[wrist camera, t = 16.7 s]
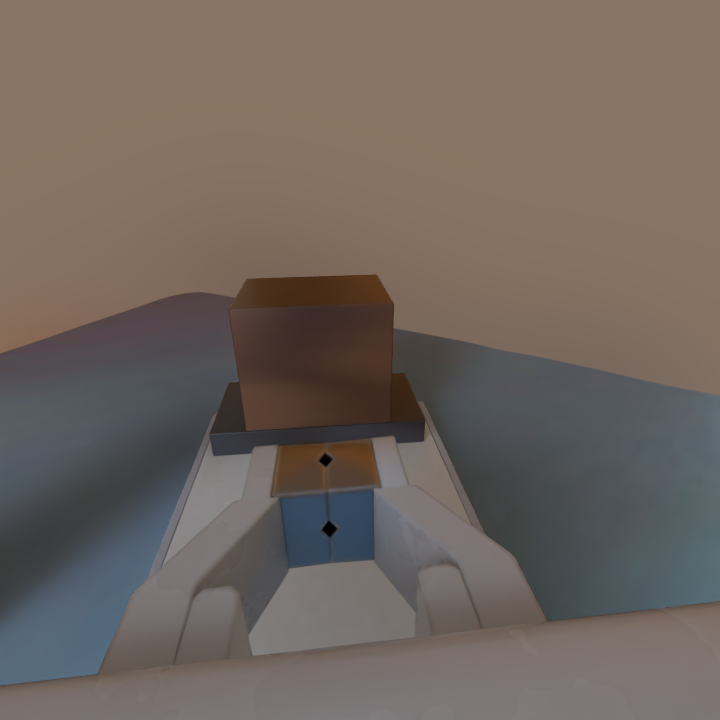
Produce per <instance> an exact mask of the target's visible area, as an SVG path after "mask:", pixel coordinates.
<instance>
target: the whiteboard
mask: <svg viewBox="0 0 720 720" xmlns="http://www.w3.org/2000/svg"><path fill="white" fill-rule="evenodd" d="M417 403H418V405H419V407H420V410H421V412H422V414H423V416H424V419H425V434H424V441H423V442H411V443H397V446H398V449H399V452H400V455H401V459H402V462H403V465H404V468H405V472H406V475H407V478H408V482H409V485H410V486H411V485H417V486H419V487H420V488H421V489H423V490H424V491H426V492H427V493H428V494H430V495H431V496H432V497H434V498H435V499H437V500H438V501H439V502H441V503H442V504H444V505H445V506H446V507H448V508H449V509H450V510H452V511H453V512H455V513H456V514H457V515H459V516H460V517H461V518H463V519H464V520H466V521H467V522H468V523H470V524H471V525H473V526H474V527H475V528H477V529H478V530H479V531H481V532H482V533H484V531H483V529H482V527H481V524H480V522H479V520H478V518H477V516H476V514H475V512H474V509H473V507H472V505H471V503H470V501H469V499H468V497H467V494H466V492H465V490H464V488H463V486H462V484H461V482H460V479H459V477H458V475H457V473H456V471H455V469H454V467H453V464H452V462H451V460H450V458H449V456H448V454H447V452H446V450H445V447H444V445H443V443H442V441H441V439H440V437H439V435H438V432H437V430H436V428H435V426H434V424H433V422H432V420H431V417H430V415H429V413H428V411H427V409H426V407H425V405H424V402H423V401H421V402H417ZM216 415H217V414H213V417H212V419H211V422H210V424H209V427H208V429H207V432H206V434H205V436H204V439H203V441H202V444H201V446H200V449H199V451H198V454H197V456H196V459H195V461H194V464H193V466H192V469H191V471H190V474H189V476H188V478H187V481H186V483H185V486H184V488H183V491H182V493H181V496H180V498H179V501H178V503H177V506H176V508H175V511H174V513H173V516H172V518H171V520H170V523H169V525H168V528H167V530H166V533H165V535H164V538H163V540H162V543H161V545H160V548H159V550H158V553H157V555H156V558H155V560H154V562H153V565H152V567H151V570H150V572H149V575H148V577H147V580H148V579H149V578H150V577H151V576H152V575H153V574H154V573H155V572H156V571H157V570H159V569H160V568H161V567H162V566H163V565H164V564H165V563H166V562H167V561H168V560H170V559H171V558H172V557H173V556H174V555H175V554H176V553H177V552H178V551H179V550H181V549H182V548H183V547H184V546H185V545H186V544H187V543H188V542H189V541H190V540H191V539H193V538H194V537H195V536H196V535H197V534H198V533H199V532H200V531H201V530H202V529H204V528H205V527H206V526H207V525H208V524H209V523H210V522H211V521H212V520H213V519H215V518H216V517H217V516H218V515H219V514H220V513H221V512H222V511H223V510H224V509H225V508H227V507H228V506H229V505H230V504H231V503H232V502H233V501H238V500H241V499H242V494H243V490H244V485H245V481H246V476H247V472H248V467H249V463H250V458H251V454H238V455H223V456H213V452H212V447H211V442H210V437H209V433H210V431H211V428H212V426H213V423H214V421H215V418H216ZM484 534H485V533H484ZM147 580H146V581H147ZM415 619H416V613H415V612H414V610H413V609H412V608H411V607H410V605H409V604H408V603H407V602H406V601H405V599H404V598H403V597H402V596H401V594H400V593H399V592H398V591H397V589H396V588H395V587H394V586H393V585H392V583H391V582H390V581H389V580H388V578H387V577H386V576H385V575H384V573H383V572H382V571H381V570H380V569H379V567H378V566H377V565H376V564H375V562H374V560H369V561H355V562H341V563H329V564H321V565H314V566H306V567H298V568H291V569H289V572H288V574H287V575H286V577H285V579H284V580H283V582H282V583H281V585H280V587H279V588H278V590H277V591H276V593H275V594H274V596H273V598H272V599H271V601H270V602H269V604H268V605H267V607H266V609H265V610H264V612H263V613H262V615H261V617H260V618H259V620H258V621H257V623H256V624H255V626H254V628H253V629H252V631H251V632H250V634H249V635H248V636H249V641H250V646H251V651H252V655H253V656H257V655H265V654H274V653H282V652H291V651H299V650H308V649H316V648H325V647H334V646H342V645H351V644H359V643H368V642H376V641H385V640H394V639H402V638H411V637H414V635H415Z"/></svg>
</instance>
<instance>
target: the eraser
mask: <svg viewBox="0 0 720 720" xmlns="http://www.w3.org/2000/svg"><path fill="white" fill-rule="evenodd" d="M393 316H394V303H393V301H392V300H391V298H390V296H389V294H388V293H387V291H386V289H385V288H384V286H383V284H382V283H381V281H380V279H379V278H378V276H377V275H352V276H351V275H349V276H319V277H289V278H258V279H246V281H245V283H244V285H243V286H242V288H241V290H240V291H239V293H238V295H237V297H236V298H235V300H234V301H233V303H232V305H231V306H230V308H229V317H230V324H231V331H232V337H233V344H234V351H235V357H236V364H237V371H238V377H239V382H234V383H229V385H228V387H227V390H226V392H225V395H224V397H223V400H222V403H221V405H220V408H219V410H218V413H217V415H216V418H215V421H214V423H213V426H212V428H211V431H210V433H209V437H210V442H211V447H212V452H213V456H223V455H238V454H252V450H253V449H254V447H255V446H265V445H279V444H297V443H315V442H336V441H347V440H359V439H370V438H374V437H383V436H392V435H393V436H394V437H395V439H396V442H397V443H411V442H423V441H424V434H425V419H424V416H423V414H422V412H421V410H420V407H419V405H418V403H417V400H416V398H415V396H414V394H413V391H412V389H411V387H410V385H409V382H408V380H407V378H406V376H405V374H404V373H400V374H392V354H393Z"/></svg>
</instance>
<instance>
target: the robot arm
mask: <svg viewBox="0 0 720 720" xmlns="http://www.w3.org/2000/svg"><path fill="white" fill-rule="evenodd" d="M369 560H374V562H375V564H376V565H377V566H378V567H379V569H380V570H381V571H382V572H383V573H384V575H385V576H386V577H387V578H388V580H389V581H390V582H391V583H392V585H393V586H394V587H395V588H396V589H397V591H398V592H399V593H400V594H401V596H402V597H403V598H404V599H405V601H406V602H407V603H408V604H409V605H410V607H411V608H412V609H413V610H414V612H415V613H416V619H415V635H414V637H411V638H402V639H394V640H385V641H376V642H368V643H359V644H351V645H342V646H334V647H325V648H316V649H308V650H299V651H291V652H282V653H274V654H265V655H257V656H253V655H252V651H251V646H250V641H249V636H248V635H249V634H250V632H251V631H252V629H253V628H254V626H255V624H256V623H257V621H258V620H259V618H260V617H261V615H262V613H263V612H264V610H265V609H266V607H267V605H268V604H269V602H270V601H271V599H272V598H273V596H274V594H275V593H276V591H277V590H278V588H279V587H280V585H281V583H282V582H283V580H284V579H285V577H286V575H287V574H288V572H289V569H291V568H298V567H306V566H314V565H321V564H329V563H341V562H355V561H369ZM0 720H720V601H718V602H709V603H701V604H692V605H683V606H675V607H666V608H658V609H649V610H640V611H632V612H623V613H615V614H606V615H598V616H589V617H580V618H572V619H563V620H555V621H547V619H546V617H545V615H544V613H543V611H542V609H541V608H540V606H539V604H538V602H537V600H536V598H535V596H534V594H533V592H532V590H531V588H530V586H529V584H528V582H527V580H526V578H525V576H524V575H523V573H522V571H521V569H520V567H519V565H518V563H517V561H516V559H515V557H514V555H513V554H511V553H510V552H508V551H507V550H506V549H504V548H503V547H502V546H500V545H499V544H497V543H496V542H495V541H493V540H492V539H490V538H489V537H488V536H486V535H485V534H484V533H482V532H481V531H479V530H478V529H477V528H475V527H474V526H473V525H471V524H470V523H468V522H467V521H466V520H464V519H463V518H461V517H460V516H459V515H457V514H456V513H455V512H453V511H452V510H450V509H449V508H448V507H446V506H445V505H444V504H442V503H441V502H439V501H438V500H437V499H435V498H434V497H432V496H431V495H430V494H428V493H427V492H426V491H424V490H423V489H421V488H420V487H419V486H417V485H411V486H410V485H409V482H408V478H407V475H406V472H405V468H404V465H403V462H402V459H401V455H400V452H399V449H398V446H397V442H396V439H395V437H394V436H393V435H392V436H383V437H374V438H370V439H359V440H347V441H336V442H315V443H297V444H279V445H265V446H255V447H254V449H253V450H252V454H251V458H250V463H249V467H248V472H247V476H246V481H245V485H244V490H243V494H242V499H241V500H238V501H233V502H232V503H231V504H230V505H229V506H228V507H227V508H225V509H224V510H223V511H222V512H221V513H220V514H219V515H218V516H217V517H216V518H215V519H213V520H212V521H211V522H210V523H209V524H208V525H207V526H206V527H205V528H204V529H202V530H201V531H200V532H199V533H198V534H197V535H196V536H195V537H194V538H193V539H191V540H190V541H189V542H188V543H187V544H186V545H185V546H184V547H183V548H182V549H181V550H179V551H178V552H177V553H176V554H175V555H174V556H173V557H172V558H171V559H170V560H168V561H167V562H166V563H165V564H164V565H163V566H162V567H161V568H160V569H159V570H157V571H156V572H155V573H154V574H153V575H152V576H151V577H150V578H149V579H148V580H147V581H145V582H144V583H143V584H142V585H141V586H140V587H139V588H138V589H137V590H136V591H134V592H133V593H132V595H131V598H130V600H129V602H128V605H127V607H126V609H125V611H124V614H123V616H122V618H121V621H120V623H119V625H118V628H117V630H116V632H115V635H114V637H113V639H112V641H111V644H110V646H109V648H108V651H107V653H106V655H105V658H104V660H103V662H102V665H101V667H100V669H99V672H98V674H94V675H86V676H77V677H69V678H60V679H52V680H43V681H35V682H26V683H18V684H9V685H1V686H0Z"/></svg>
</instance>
